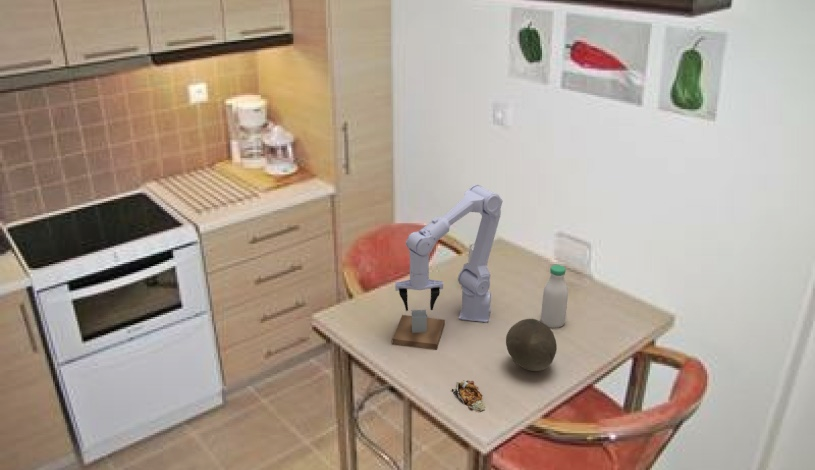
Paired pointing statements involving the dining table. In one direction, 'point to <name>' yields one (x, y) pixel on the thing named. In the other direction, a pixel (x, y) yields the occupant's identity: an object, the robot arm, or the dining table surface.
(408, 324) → the board
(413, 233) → the robot arm
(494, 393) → the dining table surface
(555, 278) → the milk bottle
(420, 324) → the block
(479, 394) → the turtle figurine
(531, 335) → the dark brown coconut
